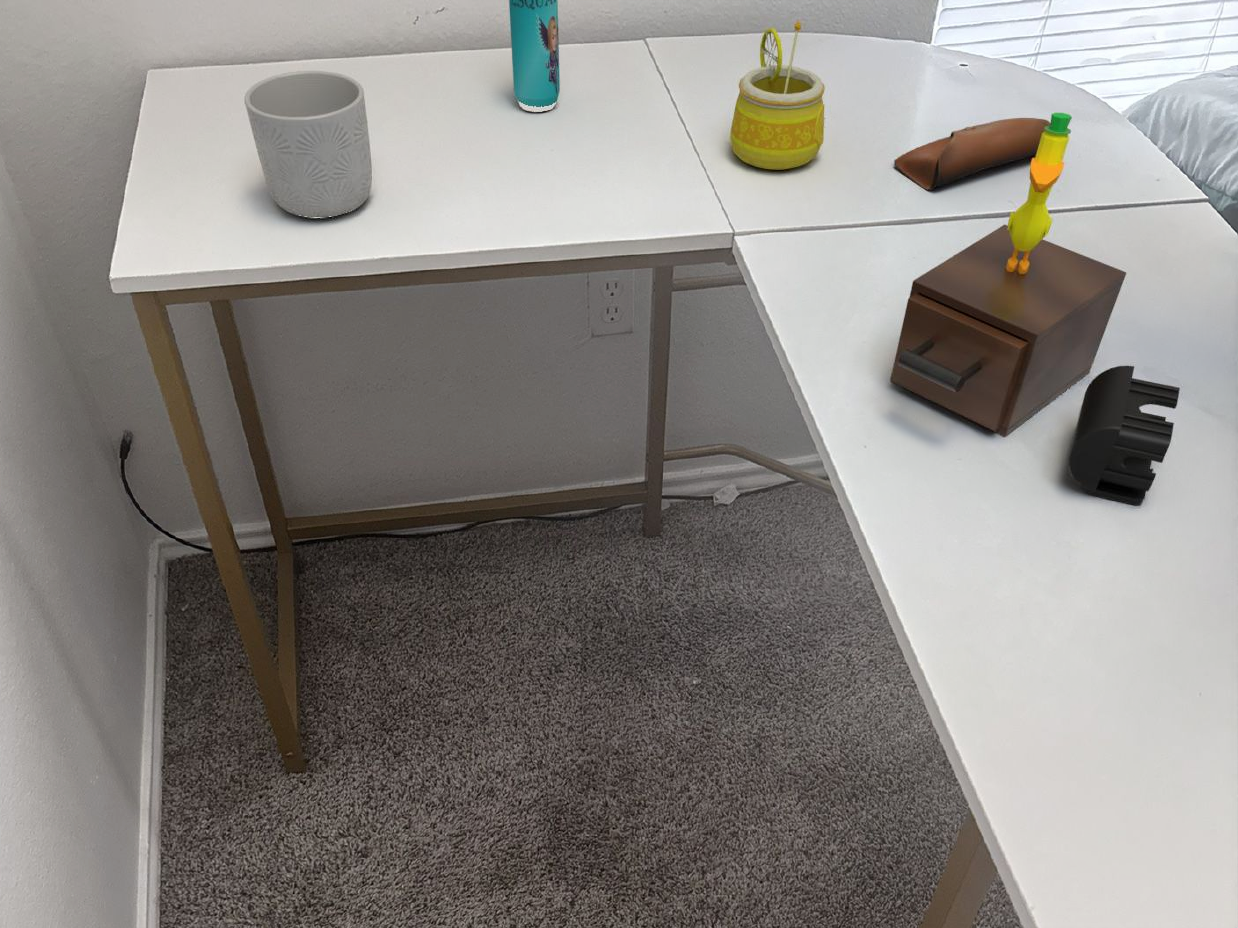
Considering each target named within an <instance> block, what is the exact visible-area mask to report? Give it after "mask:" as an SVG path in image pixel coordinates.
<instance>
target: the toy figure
mask: <svg viewBox="0 0 1238 928" xmlns="http://www.w3.org/2000/svg"><path fill="white" fill-rule="evenodd" d="M1072 118H1073V116H1072V115H1071V114H1069V113H1065V112H1052V113H1051V117H1050V121H1049V122H1050V125H1049V126H1045V127H1044V130H1045V132H1043V133H1042V136H1041V140H1040V143H1039V147H1038V150H1037V154H1036V155H1035V157H1032V158H1031V161H1030V165H1029V180H1030V182H1029V187H1028V188H1029V189H1028V196H1027V200H1026V201H1025V202H1023V204H1022V205H1021V206H1020V207H1019V208H1017V209H1016V210H1015V211H1011V212H1010V214H1009V218H1008V223H1007V225H1008V227H1007V230H1009V229H1010V230H1009V232H1010V235H1011V238H1012V242H1013V245H1014V247H1015V248H1014V252H1013V255H1012V257H1011V258H1009V259H1008V262H1007V265H1006V270H1007V271H1008V272H1013V271H1015V270H1016V267H1017V264H1018V259H1017V258H1016V257H1017V254H1018V250H1020V251H1025V255H1024V258H1023V259H1022V260H1021V261H1020V262H1019V265H1018V268H1017V271H1018V273H1019V274H1025V273H1026V272H1027V271H1028V268H1029V261H1028V257H1029V253H1030V250H1031V249H1033V248H1034V247H1035V246H1036V245H1037V244H1038V243H1039V242H1040V241H1041V240H1042V239H1043V240H1044V238H1046V236H1047V235H1048V234H1049V231H1050V229H1051V227H1052V223H1053V218H1052V217H1051V215H1050V213H1049V210H1048V208H1047V204H1046V202H1047V200H1048V198H1049V195H1050V194H1051V190H1052V189H1053V186H1054V185H1055V184H1056V183H1057V181H1058V180H1059V179H1060V176H1061V174H1062V172H1063V170H1064V166H1065V162H1064V161H1063V159H1064V156H1065V153H1066V150H1067V147H1068V144H1069V140H1070V134H1072V130H1071V128H1069V127H1068V126H1069V125H1070V123H1071V121H1072Z"/></svg>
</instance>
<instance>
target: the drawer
mask: <svg viewBox="0 0 1238 928" xmlns="http://www.w3.org/2000/svg"><path fill="white" fill-rule="evenodd" d="M909 297H910V296H909ZM909 297H908V299H907V303H906V306H905V312H904V315H903V316H904V317H903V320H902V325H901V329H900V333H899V338H898V343H897V348H896V353H895V356H894V361H893V364H892V365H893V366H892V370H891V375H890V379H889V380H890V382H891V381H893V382H895V383H897V384H899V385H901V386H903V387H905V388H907V389H909V390H908V391H910V390H911V391H910V392H912V391H913V392H912V393H914V392H916V393H918V394H920V395H922V396H924V397H926V398H928V399H930V400H932V401H934V402H936V403H938V404H940V405H942V406H941V407H943V406H944V407H943V408H945V407H946V408H945V409H947V408H949V409H951V410H953V411H955V412H957V413H959V414H961V415H963V416H965V417H967V418H969V419H971V420H973V421H975V422H974V423H976V422H977V423H976V424H978V423H979V424H978V425H980V424H982V425H984V426H986V427H988V428H990V429H992V430H994V431H995V430H996V429H998V428H999V427H1000V426H1002V424H1003V420H1004V417H1005V414H1006V411H1007V408H1008V405H1009V402H1010V398H1011V395H1012V392H1013V389H1014V386H1015V383H1016V380H1017V376H1018V373H1019V370H1020V367H1021V364H1022V361H1023V358H1024V354H1025V351H1026V348H1027V345H1028V343H1027V340H1025V339H1023V338H1021V337H1018V336H1016V335H1014V334H1012V333H1009V332H1007V331H1005V330H1002V329H1000V328H998V327H996V326H993V325H991V324H989V323H987V322H984V321H982V320H980V319H977V318H975V317H973V316H971V315H968V314H966V313H964V312H961V311H959V310H957V309H955V308H952V307H950V306H948V305H946V304H943V303H941V302H939V301H936V300H934V299H932V298H930V299H927V298H925V297H923V296H921V295H918V294H915V295H913V296H911V297H910V298H909ZM893 382H892V383H893ZM895 383H894V384H895ZM897 384H896V385H897ZM899 385H898V386H899ZM901 386H900V387H901ZM903 387H902V388H903ZM905 388H904V389H905ZM907 389H906V390H907ZM916 393H915V394H916ZM918 394H917V395H918ZM920 395H919V396H920ZM922 396H921V397H922ZM924 397H923V398H924ZM926 398H925V399H926ZM928 399H927V400H928ZM930 400H929V401H930ZM932 401H931V402H932ZM934 402H933V403H934ZM936 403H935V404H936ZM938 404H937V405H938ZM940 405H939V406H940ZM949 409H948V410H949ZM951 410H950V411H951ZM953 411H952V412H953ZM955 412H954V413H955ZM957 413H956V414H957ZM959 414H958V415H959ZM961 415H960V416H961ZM963 416H962V417H963ZM965 417H964V418H965ZM967 418H966V419H967ZM969 419H968V420H969ZM971 420H970V421H971ZM973 421H972V422H973ZM982 425H981V426H982ZM984 426H983V427H984ZM986 427H985V428H986ZM988 428H987V429H988ZM990 429H989V430H990ZM992 430H991V431H992ZM994 431H993V432H994Z"/></svg>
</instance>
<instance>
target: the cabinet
mask: <svg viewBox="0 0 1238 928" xmlns="http://www.w3.org/2000/svg"><path fill="white" fill-rule="evenodd" d="M1007 227H1008V224H1003V225H1001V226H1000V227H998V228H996V229H995V230H993V231H991V232H990V233H988V234H987V235H985V236H984V237H982V238H980V239H979V240H977V241H976V242H974V243H972V244H970V245H969V246H967V247H965V248H964V249H962V250H960V251H959V252H957V253H956V254H954V255H953V256H951V257H949V258H948V259H946V260H945V261H943V262H941V263H940V264H937V265H936V266H935V267H933V268H931V269H930V270H928V271H926V272H925V273H923V274H921V275H920V276H918V277H917V278H915V279H913V280H912V284H911V289H910V293H909V296H908V298H910V297H911V296H913V295H915V294H918V295H921V296H923V297H925V298H927V299H930V298H932V299H934V300H936V301H939V302H941V303H943V304H946V305H948V306H950V307H952V308H955V309H957V310H959V311H961V312H964V313H966V314H968V315H971V316H973V317H975V318H977V319H980V320H982V321H984V322H987V323H989V324H991V325H993V326H996V327H998V328H1000V329H1002V330H1005V331H1007V332H1009V333H1012V334H1014V335H1016V336H1018V337H1021V338H1023V339H1025V340H1027V343H1028V345H1027V348H1026V351H1025V354H1024V358H1023V361H1022V364H1021V367H1020V370H1019V373H1018V376H1017V380H1016V383H1015V386H1014V389H1013V392H1012V395H1011V398H1010V402H1009V405H1008V408H1007V411H1006V414H1005V417H1004V420H1003V424H1002V426H1000V427H999V428H998V429H996V430H995V431H994V430H992V429H990V428H988V427H986V426H984V425H982V424H979V423H977V422H975V421H973V420H971V419H969V418H967V417H965V416H963V415H961V414H959V413H957V412H955V411H953V410H951V409H949V408H946V407H944V406H942V405H940V404H938V403H936V402H934V401H932V400H930V399H928V398H926V397H924V396H922V395H920V394H918V393H916V392H913V391H911V390H909V389H907V388H905V387H903V386H901V385H899V384H897V383H895V382H893V381H891V380H890V382H891V383H893V384H895V385H897V386H899V387H901V388H903V389H905V390H908V391H909V392H912V393H914V394H916V395H918V396H920V397H922V398H924V399H926V400H928V401H931V402H932V403H934V404H936V405H939V406H941V407H943V408H945V409H947V410H948V411H951V412H953V413H955V414H957V415H959V416H961V417H963V418H965V419H967V420H970V421H971V422H973V423H975V424H977V425H980V426H982V427H984V428H985V429H988V430H990V431H992V432H994V433H996V434H999V435H1000V436H1003V437H1007V436H1008V435H1010V434H1011V433H1012V432H1013V431H1015V430H1016V429H1017V428H1019V427H1020V426H1022V425H1023V424H1024V423H1025V422H1026V421H1028V420H1030V419H1031V418H1032V417H1033V416H1034V415H1036V414H1037V413H1039V412H1040V411H1041V410H1042V409H1044V408H1045V407H1047V406H1048V405H1049V404H1050V403H1051V402H1053V401H1055V400H1056V399H1057V398H1058V397H1060V396H1061V395H1062V394H1063V393H1065V392H1066V391H1068V389H1070V388H1071V387H1073V386H1074V385H1076V384H1077V383H1078V382H1079V381H1080V380H1082V379H1083V378H1084V377H1086V376H1087V375H1088V374H1090V373H1091V369H1092V367H1093V364H1094V362H1095V359H1096V356H1097V354H1098V351H1099V349H1100V345H1101V343H1102V340H1103V338H1104V334H1105V333H1106V329H1107V327H1108V324H1109V321H1110V319H1111V316H1112V313H1113V310H1114V309H1115V306H1116V303H1117V300H1118V298H1119V295H1120V293H1121V289H1122V286H1123V283H1124V281H1125V278H1126V276H1127V272H1126V271H1124V270H1121V269H1119V268H1116V267H1114V266H1111V265H1109V264H1106V263H1104V262H1101V261H1099V260H1096V259H1094V258H1091V257H1089V256H1086V255H1083V254H1081V253H1078V252H1076V251H1074V250H1071V249H1068V248H1066V247H1063V246H1061V245H1058V244H1057V243H1053V242H1050V241H1048V240H1046V239H1044V238H1043V239H1042V240H1041V241H1040V242H1039V243H1038V244H1037V245H1036V246H1035V247H1034V248H1033V249H1031V250H1030V253H1029V257H1028V261H1029V268H1028V271H1027V272H1026V273H1025V274H1019V273H1018V271H1017V268H1018V265H1019V262H1020V261H1021V260H1022V259H1023V258H1024V255H1025V251H1020V250H1018V254H1017V257H1016V258H1017V259H1018V264H1017V267H1016V270H1015V271H1013V272H1008V271H1007V270H1006V265H1007V262H1008V259H1009V258H1011V257H1012V255H1013V252H1014V248H1015V247H1014V245H1013V242H1012V238H1011V235H1010V232H1009V230H1010V229H1009V230H1007Z"/></svg>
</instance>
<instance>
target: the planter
mask: <svg viewBox="0 0 1238 928" xmlns="http://www.w3.org/2000/svg"><path fill="white" fill-rule="evenodd" d="M244 105H245V109H246V112H247V116H248V120H249V125H250V128H251V133H252V137H253V140H254V145H255V148H256V152H257V156H258V159H259V164H260V166H261V167H260V168H261V169H262V170H261V171H262V174H263V178H264V179H265V182H266V185H267V188H268V190H269V192H270V194H271V197H272V198H273V200H274V201H275V203H276V204H277V205H278V206H279V207H280V208H281V209H282V210H285V211H286V212H288V213H290V212H291V213H290V214H292V213H293V214H292V215H294V214H296V215H295V216H297V215H301V216H307V217H329V216H336V215H340V214H343V213H346V212H349V211H351V210H353V209H355V208H357V207H358V206H359V207H361V206H362V205H363V204H364V203H365V201H366V200H367V199H368V197H369V195H370V193H371V189H372V182H373V167H372V152H371V143H370V134H369V125H368V118H367V117H368V115H367V109H366V101H365V91H364V88H363V87H362V85H361V84H360V83H359V82H358V81H357V80H355V79H354V78H353V77H350V76H348V75H346V74H341V73H337V72H332V71H326V70H301V71H300V70H297V71H290V72H285V73H280V74H276V75H273V76H270V77H267V78H265V79H263V80H260V81H258V82H257V83H254V85H252V86H251V87H249V89H248V90H247V91H246V93H245V95H244ZM362 203H363V204H362ZM361 204H362V205H361ZM360 205H361V206H360ZM359 207H358V208H359ZM358 208H357V209H358ZM355 210H356V209H355ZM353 211H354V210H353ZM351 212H352V211H351ZM349 213H350V212H349Z"/></svg>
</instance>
